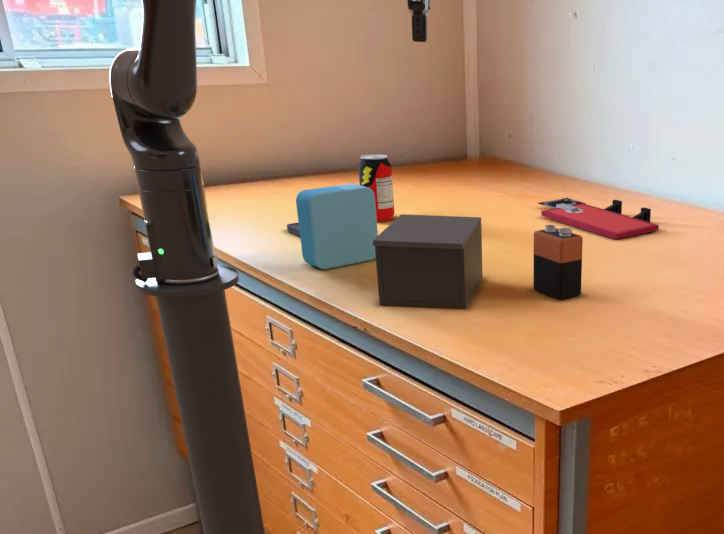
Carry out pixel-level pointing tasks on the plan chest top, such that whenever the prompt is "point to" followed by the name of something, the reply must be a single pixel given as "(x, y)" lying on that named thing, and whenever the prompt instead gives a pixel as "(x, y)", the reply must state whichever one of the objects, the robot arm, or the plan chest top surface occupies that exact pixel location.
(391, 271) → the chest
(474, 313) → the plan chest top surface
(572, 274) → the battery
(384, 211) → the beverage can
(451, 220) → the lid
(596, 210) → the red board with handle
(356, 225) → the data package
